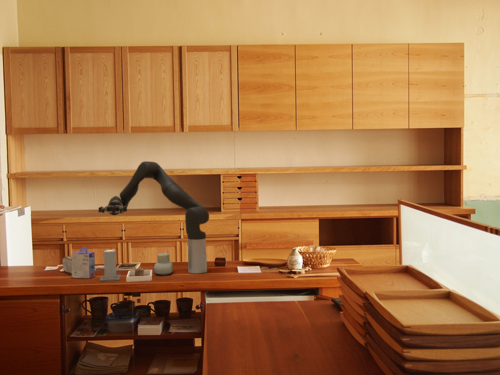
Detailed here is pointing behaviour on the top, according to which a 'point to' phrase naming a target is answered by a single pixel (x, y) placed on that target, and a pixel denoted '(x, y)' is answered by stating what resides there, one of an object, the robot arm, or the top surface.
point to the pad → (111, 278)
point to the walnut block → (139, 272)
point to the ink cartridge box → (83, 264)
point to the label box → (110, 264)
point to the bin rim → (139, 278)
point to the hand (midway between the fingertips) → (111, 210)
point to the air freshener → (163, 264)
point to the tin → (67, 264)
